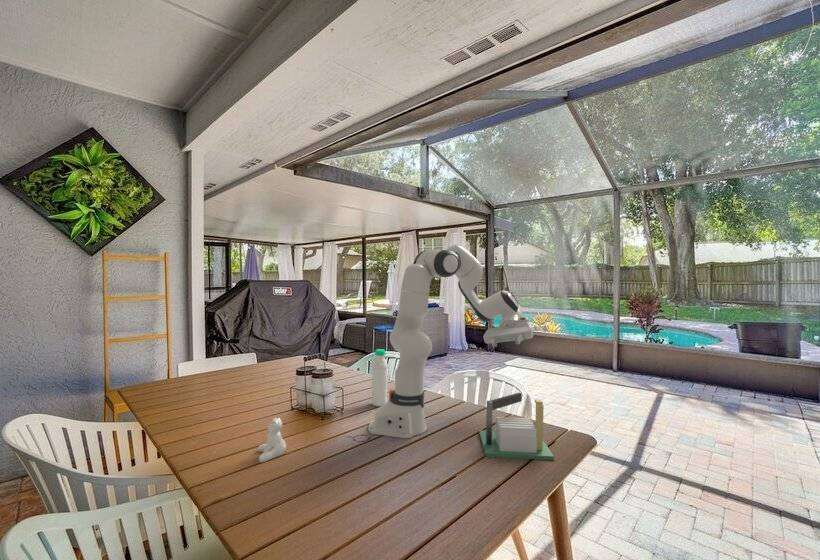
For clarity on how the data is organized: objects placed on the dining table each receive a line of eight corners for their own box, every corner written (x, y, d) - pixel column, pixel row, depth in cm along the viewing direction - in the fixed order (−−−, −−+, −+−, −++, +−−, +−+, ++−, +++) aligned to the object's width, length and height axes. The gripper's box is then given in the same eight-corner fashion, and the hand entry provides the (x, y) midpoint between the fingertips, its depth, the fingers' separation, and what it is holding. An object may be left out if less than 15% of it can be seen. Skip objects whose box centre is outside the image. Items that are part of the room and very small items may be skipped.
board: (485, 456, 123) (486, 405, 123) (479, 433, 141) (480, 388, 141) (553, 460, 121) (555, 407, 121) (538, 435, 139) (539, 390, 139)
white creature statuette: (258, 450, 125) (258, 414, 125) (285, 445, 128) (285, 411, 128) (258, 463, 116) (259, 425, 116) (287, 458, 120) (288, 421, 120)
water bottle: (384, 407, 166) (385, 351, 166) (369, 406, 168) (370, 350, 167) (388, 402, 173) (389, 348, 173) (374, 400, 175) (375, 347, 174)
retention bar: (489, 444, 128) (489, 402, 128) (484, 442, 130) (485, 401, 130) (521, 432, 139) (522, 393, 139) (517, 430, 141) (518, 392, 140)
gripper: (484, 323, 165) (478, 340, 153) (531, 317, 155) (529, 334, 144) (488, 336, 167) (482, 353, 155) (535, 330, 157) (533, 348, 145)
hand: (505, 344), depth 149 cm, fingers open, 8 cm apart
